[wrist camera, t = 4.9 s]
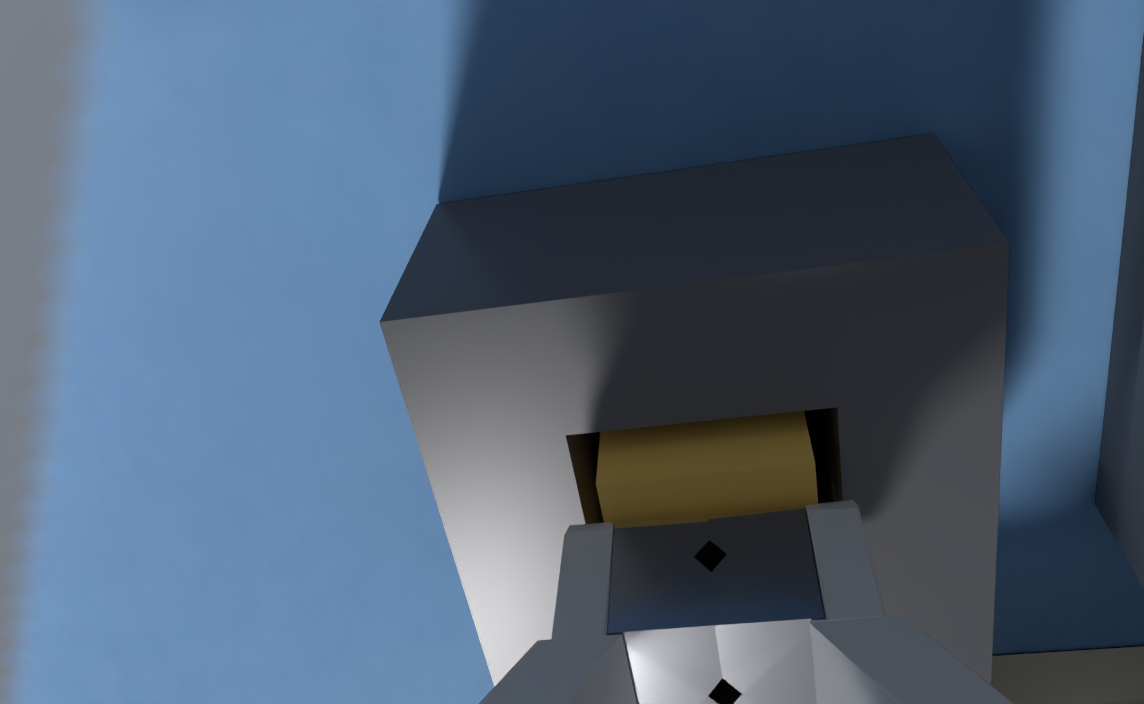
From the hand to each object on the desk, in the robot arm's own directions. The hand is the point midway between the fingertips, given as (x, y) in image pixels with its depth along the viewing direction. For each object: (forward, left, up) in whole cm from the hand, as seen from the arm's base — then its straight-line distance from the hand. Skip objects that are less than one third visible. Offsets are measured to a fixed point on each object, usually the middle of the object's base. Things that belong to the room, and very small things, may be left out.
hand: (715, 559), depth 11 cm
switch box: (0, 0, -4) cm, 4 cm away
